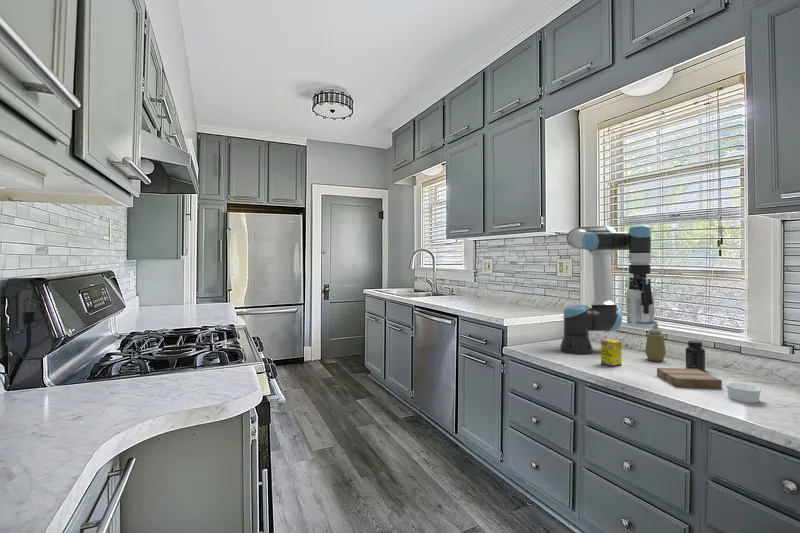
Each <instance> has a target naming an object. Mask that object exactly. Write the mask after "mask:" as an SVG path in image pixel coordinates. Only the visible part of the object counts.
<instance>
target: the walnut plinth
mask: <svg viewBox="0 0 800 533" xmlns="http://www.w3.org/2000/svg"><path fill="white" fill-rule="evenodd" d="M656 376H657V377H659V378H661V379H663V380H664V381H666V382H668V383H669V384H671V385H672V386H674V387H676V388H691V389H692V388H695V389H719V390H720V389H723V388H722V387H723V380H722V379H719V378H717V377H715V376H713V375H711V374H709V373H708V372H705V371H701V370H699V369H686V368H676V367H675V368H674V367H673V368H671V367H669V368H668V367H657V368H656Z"/></svg>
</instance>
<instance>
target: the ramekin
mask: <svg viewBox="0 0 800 533" xmlns="http://www.w3.org/2000/svg"><path fill="white" fill-rule="evenodd" d="M725 385H726V390H727V397H728V398H730V399H731V400H734V401H738V402H741V403H748V404H756V403H759V402H760V396H761V392H762V389H761V388H760V387H758V386H755V385H753V384H748V383H742V382H727V383H726V384H725Z"/></svg>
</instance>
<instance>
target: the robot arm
mask: <svg viewBox="0 0 800 533" xmlns="http://www.w3.org/2000/svg"><path fill="white" fill-rule="evenodd" d="M651 229H652V228H651V227H650V226H649V225H647V224H646V225H632V226H630V227H629V229H628V231H623V232H622V231H619V232H618V231H616V229H615V228H614V227H612V226H610V225H609V226H605V225H601V226H599V225H597V226H579V227H575V228H573V229H571V230H570V231H569V232H567V235H566V242H567V244H568V246H570V247H572V248H575V249H579V250H582V249H583V250H585V251H588V254H590V255H591V257H592V272H593V274H592V275H593V280H592V281H593V293H594V294H593V296H594V298H593V299H594V300H593V302H592V303H591V307H589V306H588V304H587V305H586V304H577V305H576V304H575V305H570V306H567V307H565V308H564V310H563V315H562V316H563V337H562V340H561V343H560V348H559V350H560V351H561V352H564V353H566V354H573V355H588V354H592V353H593V346H592V343H591V340H590V337H589V332H616V331H619V329H620V328H621V325H622V322H623V313H622V309H621V308H619V307H618V305H617V303H616V302H615V301H614V292H613V290H614V289H613V273H612V272H613V271H612V254H613V253H614V252H615V251H616V250H617V251H628V256H627V259H628V263H629V265H628V273H629V274H630V275H633V276H629V277H628V279H629V280H628V281H629V283H628V290H629V289H633V290H635V289H638V290H639V291H643V292H641V301H642V303H641V304H640V305H641V322H649V305H650V304H653V302H652V293H651V290H652V286H651V285H652V284H651V283H652V282H651V281H652V280H651V278H647V275H649V274H650V275H651V270H652V269H651V265H650V264H651V262H652V253H651V246H652V245H651V244H652V241H651V240H652V238H651V237H652V232H651Z"/></svg>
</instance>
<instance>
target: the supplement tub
mask: <svg viewBox="0 0 800 533" xmlns="http://www.w3.org/2000/svg"><path fill="white" fill-rule="evenodd" d="M641 292H643V291H639V290H638V289H635V290H633V289H629V288H628V289H627V290H626V324H627V326H629V327H632V328H641V329H652V327H654V325H655V318H656V317H655V292H654V289H651V293H652V302H653V304H650V305H649V322H641V305H640V304H641V303H642V301H641Z"/></svg>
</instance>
